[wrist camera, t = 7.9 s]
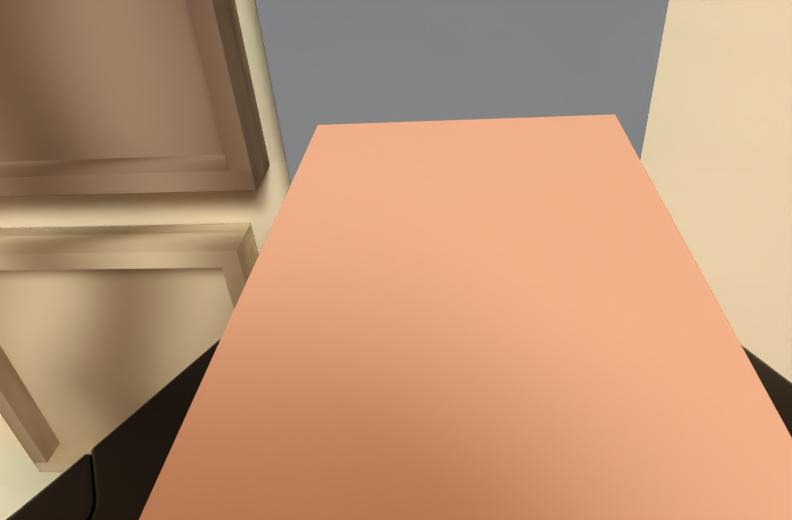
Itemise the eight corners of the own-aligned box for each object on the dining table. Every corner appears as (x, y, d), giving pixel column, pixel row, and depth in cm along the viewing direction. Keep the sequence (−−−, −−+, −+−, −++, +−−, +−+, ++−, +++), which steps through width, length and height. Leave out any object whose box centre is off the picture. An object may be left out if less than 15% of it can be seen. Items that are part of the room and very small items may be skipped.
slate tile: (672, -153, 13) (695, -150, 11) (613, 216, 18) (624, 245, 17) (252, -119, 14) (233, -114, 12) (313, 222, 19) (303, 249, 18)
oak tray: (250, 223, 19) (236, 250, 18) (305, 446, 25) (298, 477, 24) (-72, 229, 20) (-106, 256, 19) (58, 441, 27) (39, 471, 25)
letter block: (615, 114, 8) (917, 667, 3) (582, 338, 10) (715, 870, 5) (318, 124, 8) (93, 621, 3) (350, 338, 11) (250, 830, 6)
